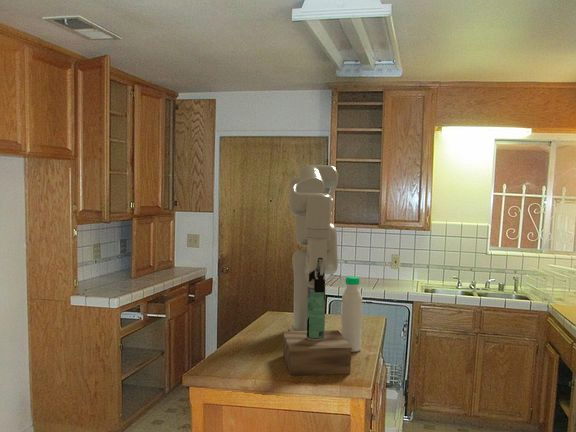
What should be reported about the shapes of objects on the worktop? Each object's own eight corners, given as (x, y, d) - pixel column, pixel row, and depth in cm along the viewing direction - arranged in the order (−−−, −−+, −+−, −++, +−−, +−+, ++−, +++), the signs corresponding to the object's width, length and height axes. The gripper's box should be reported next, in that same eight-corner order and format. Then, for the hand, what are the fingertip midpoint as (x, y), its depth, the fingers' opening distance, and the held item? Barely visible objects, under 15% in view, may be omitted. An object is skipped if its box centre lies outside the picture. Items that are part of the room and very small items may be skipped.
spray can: (326, 337, 160) (327, 274, 159) (321, 342, 154) (323, 277, 153) (309, 335, 161) (310, 273, 160) (304, 340, 156) (305, 275, 155)
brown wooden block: (282, 355, 166) (282, 331, 166) (337, 353, 168) (338, 330, 168) (289, 375, 148) (290, 348, 147) (351, 374, 150) (352, 347, 150)
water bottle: (356, 353, 169) (357, 279, 168) (337, 350, 173) (338, 277, 171) (364, 348, 175) (366, 276, 174) (346, 344, 179) (347, 274, 177)
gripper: (301, 231, 164) (300, 283, 165) (310, 237, 147) (309, 295, 148) (324, 231, 165) (323, 283, 166) (335, 237, 148) (334, 294, 149)
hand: (316, 288), depth 157 cm, fingers open, 9 cm apart
